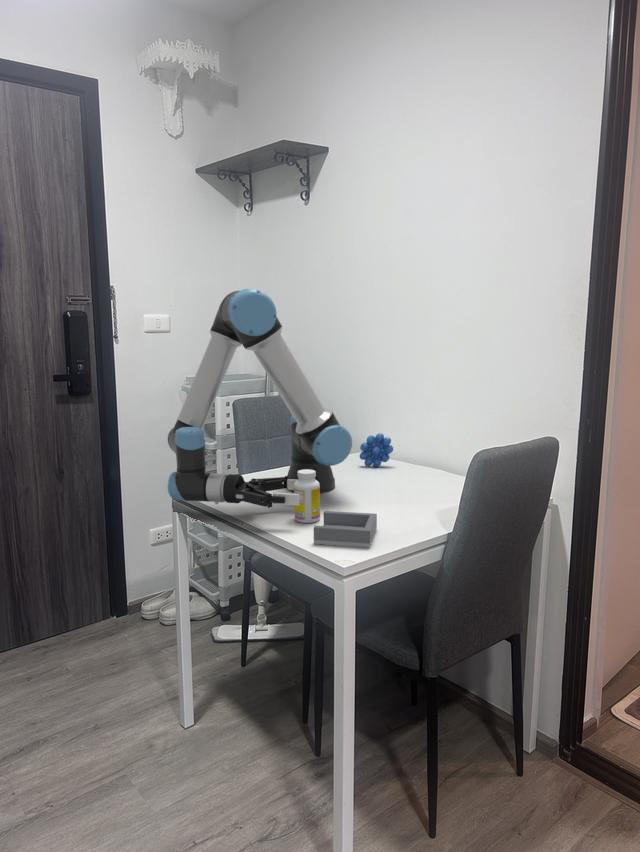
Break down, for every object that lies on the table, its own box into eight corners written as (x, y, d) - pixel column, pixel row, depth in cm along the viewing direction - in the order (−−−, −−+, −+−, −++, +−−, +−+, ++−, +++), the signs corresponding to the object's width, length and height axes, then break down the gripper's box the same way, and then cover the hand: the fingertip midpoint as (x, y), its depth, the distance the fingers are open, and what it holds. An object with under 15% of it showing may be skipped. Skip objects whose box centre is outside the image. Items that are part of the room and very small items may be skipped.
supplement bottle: (320, 515, 170) (319, 468, 167) (320, 523, 163) (320, 474, 161) (294, 516, 169) (293, 468, 167) (294, 524, 163) (293, 474, 161)
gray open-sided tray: (313, 544, 148) (313, 527, 148) (324, 526, 161) (324, 510, 160) (369, 547, 146) (369, 530, 145) (376, 529, 158) (376, 513, 158)
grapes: (393, 464, 227) (393, 431, 225) (393, 469, 220) (393, 434, 218) (360, 464, 228) (360, 430, 226) (359, 468, 222) (359, 434, 220)
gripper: (242, 489, 182) (316, 493, 177) (209, 516, 158) (293, 521, 153) (241, 463, 180) (315, 466, 176) (208, 486, 156) (292, 491, 152)
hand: (305, 492), depth 165 cm, fingers open, 13 cm apart
